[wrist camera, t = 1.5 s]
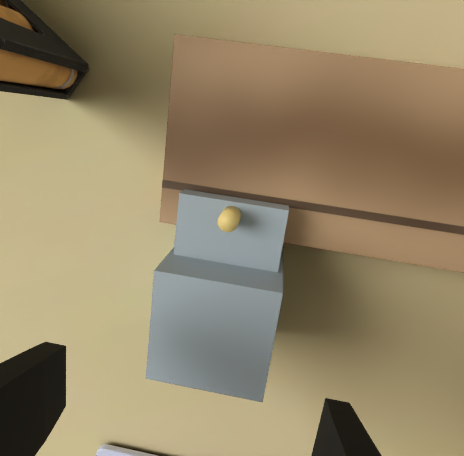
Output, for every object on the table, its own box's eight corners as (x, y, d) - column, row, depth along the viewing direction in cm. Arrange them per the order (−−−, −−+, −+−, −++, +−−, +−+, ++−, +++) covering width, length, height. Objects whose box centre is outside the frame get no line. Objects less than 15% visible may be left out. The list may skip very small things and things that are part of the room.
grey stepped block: (268, 329, 19) (262, 402, 14) (180, 313, 19) (145, 378, 14) (292, 193, 17) (295, 224, 12) (194, 178, 17) (159, 202, 12)
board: (645, 287, 16) (695, 311, 14) (173, 210, 18) (159, 222, 16) (731, 110, 14) (804, 109, 12) (188, 44, 16) (174, 34, 14)
